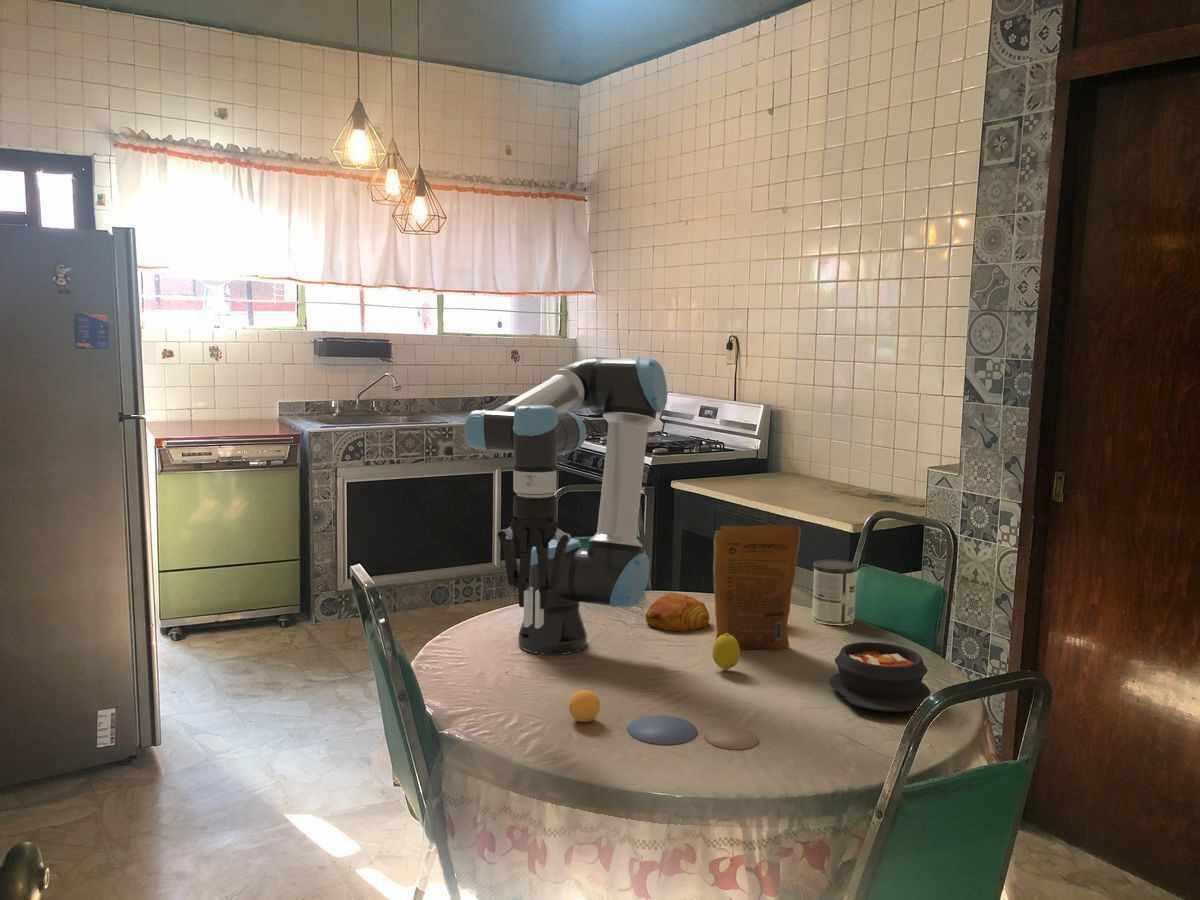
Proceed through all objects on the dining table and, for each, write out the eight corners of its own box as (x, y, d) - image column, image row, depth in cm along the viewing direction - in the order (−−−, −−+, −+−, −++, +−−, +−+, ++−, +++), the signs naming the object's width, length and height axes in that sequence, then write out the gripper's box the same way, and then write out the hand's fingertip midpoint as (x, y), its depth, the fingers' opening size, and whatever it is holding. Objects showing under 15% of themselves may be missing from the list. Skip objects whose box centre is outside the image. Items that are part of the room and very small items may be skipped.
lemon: (738, 676, 188) (739, 638, 187) (710, 674, 189) (712, 636, 188) (739, 667, 193) (741, 630, 192) (713, 665, 194) (714, 628, 193)
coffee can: (813, 612, 234) (815, 557, 233) (855, 617, 231) (858, 561, 230) (808, 623, 225) (811, 566, 223) (852, 628, 221) (855, 570, 220)
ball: (564, 725, 162) (565, 694, 162) (573, 713, 167) (573, 683, 167) (595, 728, 161) (595, 698, 160) (603, 716, 166) (603, 687, 166)
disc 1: (620, 740, 156) (620, 738, 156) (635, 713, 168) (635, 712, 168) (691, 748, 153) (691, 747, 153) (701, 720, 165) (701, 719, 165)
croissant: (672, 620, 234) (670, 588, 234) (720, 625, 222) (718, 592, 222) (631, 629, 224) (629, 596, 224) (678, 636, 213) (676, 601, 213)
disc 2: (701, 746, 155) (701, 744, 155) (709, 725, 163) (709, 723, 163) (756, 752, 152) (756, 751, 152) (760, 731, 161) (760, 730, 161)
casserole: (937, 726, 164) (940, 681, 163) (829, 715, 169) (831, 670, 168) (923, 678, 189) (925, 638, 188) (828, 669, 193) (830, 630, 192)
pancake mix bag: (798, 653, 202) (803, 527, 199) (710, 651, 203) (714, 524, 200) (793, 644, 209) (798, 521, 206) (708, 641, 210) (712, 519, 207)
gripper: (488, 495, 160) (487, 628, 163) (568, 499, 157) (566, 635, 159) (503, 488, 167) (502, 616, 170) (580, 493, 164) (578, 623, 167)
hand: (533, 625), depth 165 cm, fingers closed
